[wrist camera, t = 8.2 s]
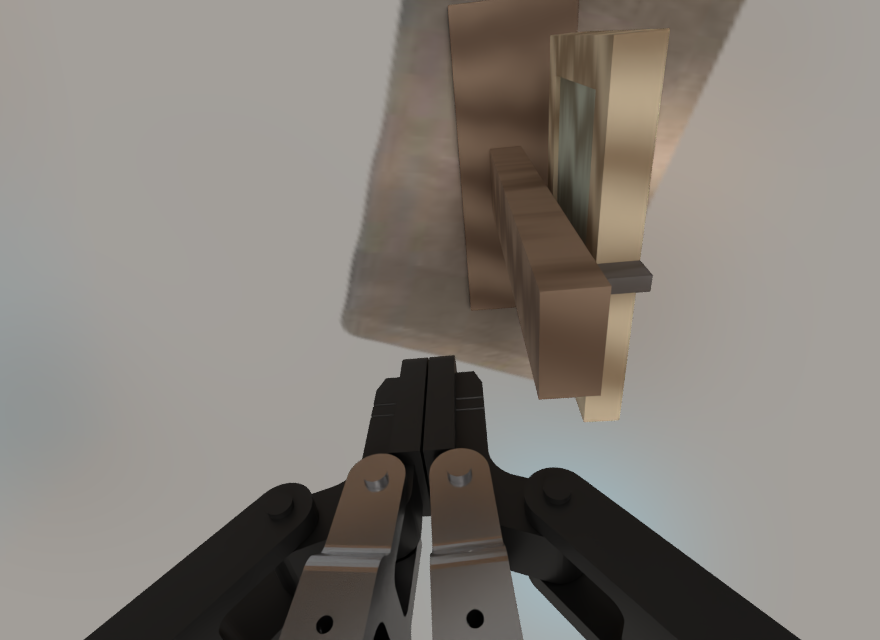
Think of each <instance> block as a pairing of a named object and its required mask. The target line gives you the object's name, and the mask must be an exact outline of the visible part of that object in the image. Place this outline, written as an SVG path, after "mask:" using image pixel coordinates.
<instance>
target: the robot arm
mask: <svg viewBox="0 0 880 640" xmlns="http://www.w3.org/2000/svg"><path fill="white" fill-rule="evenodd" d="M371 416H372V418H371V420H370V425H369V429H368V434H367V439H366V444H365V448H364V453H363V458H362V460H360V461H359V462H358V463H356V464H355V465H354V466H353V468H352V469H351V470H350V472H349V474H348V476H347V479H346V480H345V481H344V482H342V483H340V484H339V485H336V486H334V487H331V488H328V489H325V490H322V491H319V492H316V493H313V494H311V492H310V490H309V489H308V488H307V487H306V486H304V485H302V484H298V483H286V484H282V485H279V486H276V487H274V488H272V489H270V490H269V491H267V492H266V493H265V494H263V495H262V496H261V497H260V498H259V499H257V500H256V501H255V502H253V503H252V504H251V505H250V506H248V507H247V508H246V509H245V510H244V511H242V512H241V513H240V514H239V515H238V516H236V517H235V518H234V519H232V520H231V521H230V522H229V523H228V524H226V525H225V526H224V527H223V528H221V529H220V530H219V531H218V532H216V533H215V534H214V535H213V536H211V537H210V538H209V539H208V540H207V541H205V542H204V543H203V544H202V545H200V546H199V547H198V548H197V549H195V550H194V551H193V552H192V553H190V554H189V555H188V556H187V557H186V558H184V559H183V560H182V561H180V562H179V563H178V564H177V565H176V566H175V567H173V568H172V569H171V570H169V571H168V572H167V573H166V574H164V575H163V576H162V577H161V578H159V579H158V580H157V581H156V582H155V583H153V584H152V585H151V586H150V587H148V588H147V589H146V590H145V591H143V592H142V593H141V594H140V595H138V596H137V597H136V598H135V599H134V600H132V601H131V602H130V603H129V604H127V605H126V606H125V607H124V608H122V609H121V610H120V611H119V612H117V613H116V614H115V615H114V616H113V617H111V618H110V619H109V620H108V621H106V622H105V623H104V624H103V625H101V626H100V627H99V628H98V629H96V630H95V631H94V632H93V633H92V634H90V635H89V636H88V637H87V638H85V639H84V640H411V623H412V615H413V607H414V600H415V592H416V585H417V578H418V571H419V564H420V556H421V548H422V542H421V530H422V516H431V526H432V553H431V554H430V580H431V609H432V637H433V640H523V636H522V630H521V625H520V620H519V614H518V609H517V604H516V598H515V593H514V587H513V582H512V577H511V572H510V570H511V571H514V572H517V573H521V574H524V575H528V576H529V578H530V580H531V582H532V583H533V585H534V586H535V587H536V588H537V589H538V590H539V591H540V592H541V593H542V594H543V595H544V596H545V597H546V598H547V599H548V601H550V603H552V605H553V606H554V607H555V608H556V609H557V610H558V611H559V612H560V613H561V614H562V615H563V616H564V617H565V618H566V619H567V620H568V621H569V622H570V623H571V624H572V625H573V626H574V627H575V628H576V630H577V631H578V632H579V633H581V635H582V636H583V637H584V638H585V639H586V640H800V639H799V638H798V637H796V636H795V635H794V634H792V633H791V632H790V631H788V630H787V629H786V628H784V627H783V626H782V625H780V624H779V623H777V622H776V621H775V620H773V619H772V618H771V617H769V616H768V615H767V614H765V613H764V612H763V611H761V610H760V609H759V608H757V607H756V606H754V605H753V604H752V603H750V602H749V601H748V600H746V599H745V598H743V597H742V596H741V595H740V594H738V593H737V592H735V591H734V590H733V589H731V588H730V587H729V586H727V585H726V584H725V583H723V582H722V581H721V580H719V579H718V578H716V577H715V576H713V574H711V573H710V572H708V571H707V570H705V569H704V568H703V567H701V566H700V565H699V564H698V563H696V562H695V561H694V560H692V559H691V558H690V557H688V556H687V555H685V554H684V553H683V552H681V551H680V550H679V549H677V548H676V547H674V546H673V545H672V544H670V543H669V542H668V541H666V540H665V539H663V538H662V537H661V536H660V535H658V534H657V533H655V532H654V531H653V530H651V529H650V528H649V527H648V526H646V525H645V524H643V523H642V522H640V521H639V520H638V519H637V518H635V517H634V516H633V515H631V514H630V513H629V512H627V511H626V510H625V509H623V508H622V507H620V506H619V505H618V504H616V503H615V502H614V501H612V500H611V499H610V498H608V497H607V496H605V495H604V494H603V493H601V492H600V491H599V490H597V489H596V488H594V487H593V486H592V485H591V484H589V483H588V482H587V481H585V480H584V479H583V478H581V477H580V476H578V475H577V474H575V473H574V472H571V471H569V470H566V469H563V468H545V469H541V470H539V471H537V472H535V473H534V474H533V475H531V477H529V478H525V477H521V476H516V475H513V474H509V473H507V472H505V471H503V470H501V469H500V468H499V467H498V466H496V465H495V464H494V462H493V461H492V460H491V458H490V456H489V452H488V443H487V432H486V421H485V409H484V398H483V387H482V382H481V380H480V379H479V378H478V376H477V375H476V374H475V372H474V371H472V372H459V373H457V370H456V361H455V356H454V355H452V356H440V357H430V358H429V359H428V358H417V359H405V360H403V361H402V367H401V374H400V377H397V378H387V379H385V381H384V382H383V383H382V385H381V386H380V387H379V388H378V390H377V391H376V396H375V400H374V407H373V410H372V415H371Z"/></svg>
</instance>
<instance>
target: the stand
mask: <svg viewBox="0 0 880 640" xmlns="http://www.w3.org/2000/svg"><path fill="white" fill-rule="evenodd" d="M578 7H579V0H487V1H479V2H471V3H463V4H454V5H448V16H449V29H450V43H451V56H452V69H453V82H454V95H455V108H456V121H457V134H458V147H459V160H460V173H461V186H462V200H463V213H464V226H465V239H466V252H467V265H468V278H469V291H470V304H471V311H473V310H486V309H499V308H512V307H516V308H517V312H518V317H519V321H520V325H521V329H522V333H523V337H524V341H525V345H526V349H527V353H528V357H529V362H530V366H531V370H532V374H533V378H534V382H535V386H536V390H537V394H538V398H539V400H540V399H556V398H572V397H587V396H601V389H602V378H603V368H604V358H605V348H606V338H607V328H608V317H609V307H610V297H611V287H612V286H611V285H610V283H609V281H608V280H607V278H606V277H605V275H604V274H603V272H602V271H601V269H600V268H599V266H598V264H597V263H596V261H595V260H594V258H593V257H592V255H591V254H590V252H589V251H588V249H587V248H586V246H585V244H584V243H583V241H582V240H581V238H580V237H579V235H578V234H577V232H576V231H575V229H574V227H573V226H572V224H571V223H570V221H569V220H568V218H567V217H566V215H565V214H564V212H563V211H562V209H561V207H560V206H559V204H558V203H557V201H556V200H555V198H554V197H553V195H552V194H551V192H550V190H549V189H548V137H549V82H550V36H551V35H560V34H568V33H577V30H578Z"/></svg>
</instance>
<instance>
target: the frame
mask: <svg viewBox="0 0 880 640" xmlns="http://www.w3.org/2000/svg"><path fill="white" fill-rule="evenodd" d="M669 33H670V28H667V29H641V30H614V31H588V32H577V33H568V34H560V35H551V36H550V82H549V137H548V189H549V190H550V192H551V194H552V195H553V197H554V198H555V200H556V201H557V203H558V204H559V206H560V207H561V209H562V211H563V212H564V214H565V215H566V217H567V218H568V220H569V221H570V223H571V224H572V226H573V227H574V229H575V231H576V232H577V234H578V235H579V237H580V238H581V240H582V241H583V243H584V244H585V246H586V248H587V249H588V251H589V252H590V254H591V255H592V257H593V258H594V260H595V261H596V263H597V264H598V266H599V268H600V269H601V271H602V272H603V274H604V275H605V277H606V278H607V280H608V281H609V283H610V285H611V286H612V287H611V297H610V307H609V317H608V328H607V338H606V348H605V358H604V368H603V378H602V389H601V396H587V397H575V398H576V401H577V404H578V407H579V410H580V412H581V415H582V418H583V421H584V422H596V421H613V420H619V418H620V410H621V403H622V395H623V387H624V380H625V372H626V364H627V356H628V349H629V340H630V333H631V325H632V317H633V310H634V302H635V295H636V293H637V292H649V291H650V290H651V283H652V276H653V275H652V274H651V273H650V271H649V270H648V269H647V268H646V267H645V266H644V264H643V263H642V262H641V261H640V256H641V249H642V241H643V233H644V225H645V218H646V210H647V202H648V195H649V187H650V179H651V171H652V164H653V156H654V148H655V141H656V133H657V125H658V117H659V110H660V102H661V94H662V87H663V79H664V71H665V63H666V56H667V48H668V40H669Z"/></svg>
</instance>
